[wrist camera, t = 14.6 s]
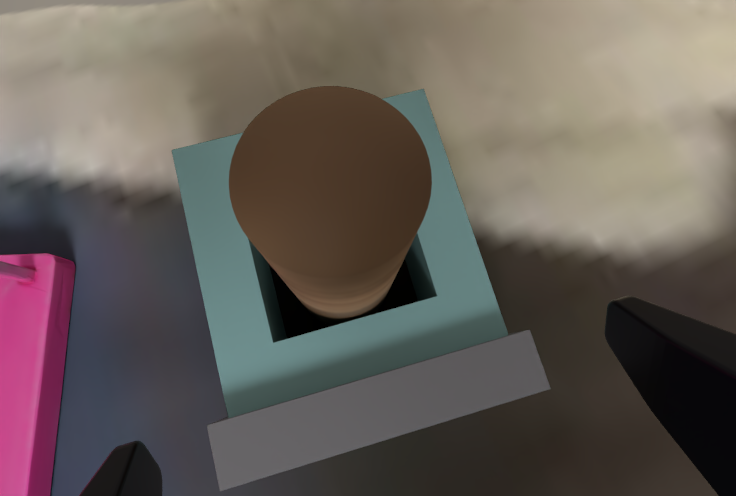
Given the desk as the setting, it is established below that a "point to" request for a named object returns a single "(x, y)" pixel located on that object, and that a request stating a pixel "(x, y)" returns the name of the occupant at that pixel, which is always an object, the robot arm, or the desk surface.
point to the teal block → (346, 340)
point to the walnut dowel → (332, 196)
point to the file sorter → (31, 367)
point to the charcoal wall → (375, 409)
